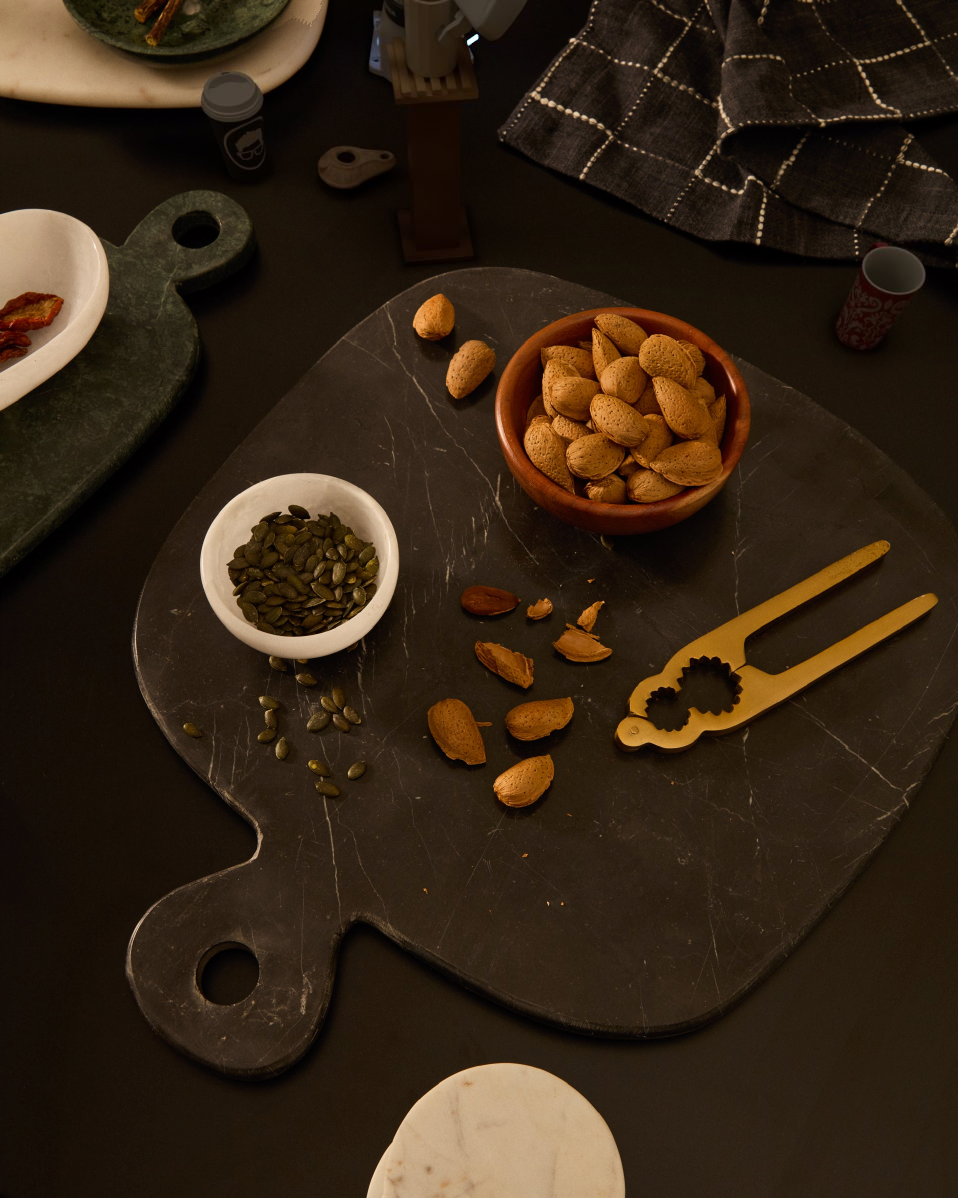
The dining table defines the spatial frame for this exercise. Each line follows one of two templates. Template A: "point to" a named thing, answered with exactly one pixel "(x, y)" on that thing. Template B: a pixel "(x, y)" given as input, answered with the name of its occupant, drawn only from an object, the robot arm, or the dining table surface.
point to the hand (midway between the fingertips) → (426, 23)
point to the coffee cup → (237, 123)
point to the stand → (434, 186)
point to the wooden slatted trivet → (431, 89)
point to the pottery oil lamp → (353, 166)
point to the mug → (878, 295)
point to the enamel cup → (429, 37)
